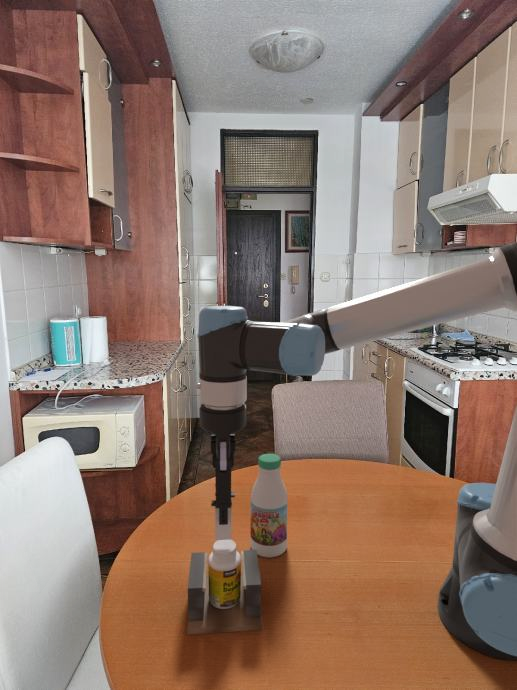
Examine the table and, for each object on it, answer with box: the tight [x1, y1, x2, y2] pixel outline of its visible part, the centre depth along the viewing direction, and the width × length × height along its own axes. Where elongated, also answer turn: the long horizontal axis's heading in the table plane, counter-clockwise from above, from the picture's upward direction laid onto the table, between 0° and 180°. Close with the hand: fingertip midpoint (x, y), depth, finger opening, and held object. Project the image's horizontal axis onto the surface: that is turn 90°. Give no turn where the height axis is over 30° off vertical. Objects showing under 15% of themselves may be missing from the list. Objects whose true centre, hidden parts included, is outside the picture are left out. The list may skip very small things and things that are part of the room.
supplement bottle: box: [207, 539, 242, 609], centre depth 74 cm, size 6×6×10 cm
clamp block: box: [186, 549, 263, 635], centre depth 75 cm, size 12×12×7 cm
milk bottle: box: [249, 453, 289, 558], centre depth 90 cm, size 8×8×20 cm
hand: (223, 537), depth 73 cm, fingers closed
